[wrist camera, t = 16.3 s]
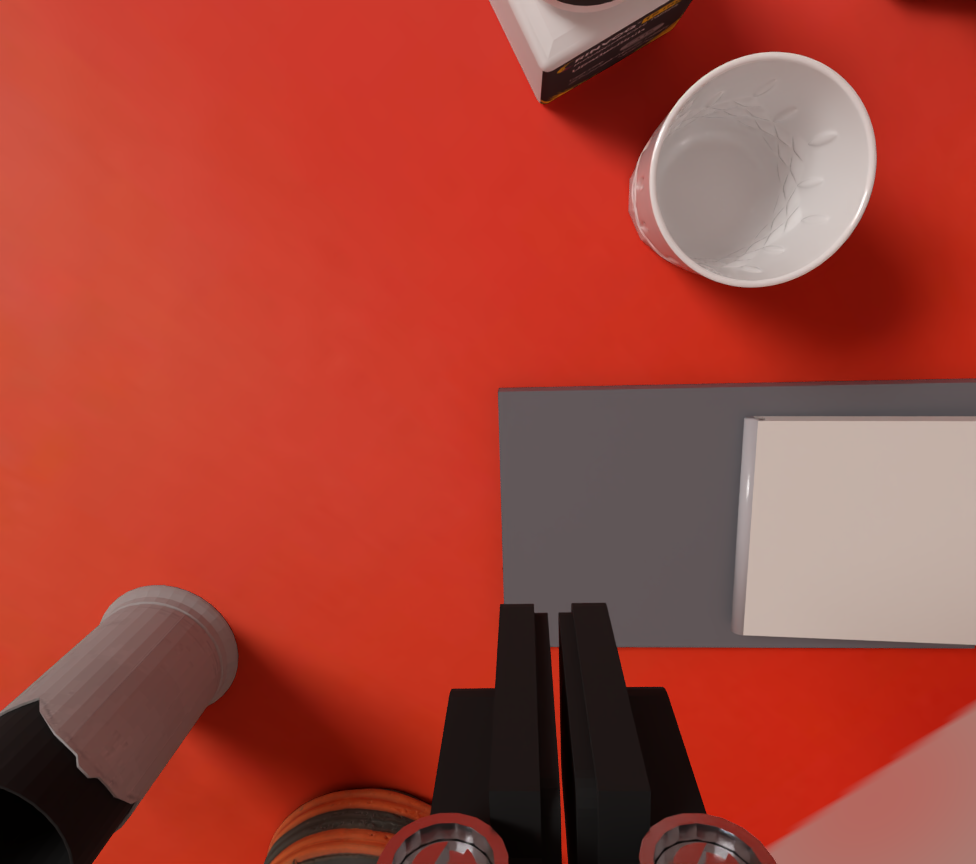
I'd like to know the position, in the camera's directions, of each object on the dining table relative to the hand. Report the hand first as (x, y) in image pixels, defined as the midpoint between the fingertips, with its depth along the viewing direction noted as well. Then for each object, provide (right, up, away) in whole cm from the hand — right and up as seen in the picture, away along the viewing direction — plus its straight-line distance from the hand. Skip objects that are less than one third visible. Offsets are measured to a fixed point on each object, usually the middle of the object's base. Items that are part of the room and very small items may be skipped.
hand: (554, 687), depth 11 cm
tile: (+18, -1, +25) cm, 31 cm away
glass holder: (-23, -11, +33) cm, 41 cm away
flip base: (+13, -1, +27) cm, 30 cm away
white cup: (+9, +16, +24) cm, 30 cm away
